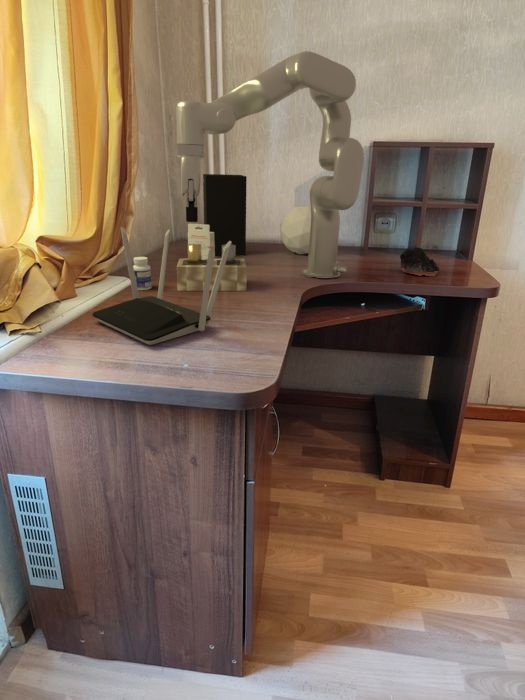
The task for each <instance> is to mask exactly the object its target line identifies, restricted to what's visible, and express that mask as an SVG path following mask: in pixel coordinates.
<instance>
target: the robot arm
mask: <svg viewBox="0 0 525 700" xmlns="http://www.w3.org/2000/svg"><path fill="white" fill-rule="evenodd" d="M356 88H357V81H356V76H355V73H353V71H352V70H351V69H349V68H348V67H346V66H345V65H343V64H341V63H339V62H336V61H334V60H332V59H330V58H328V57H325V56H323V55H322V54H321V55H320V54H318V53H316V52H313V51H309V50H308V51H307V50H306V51H301V52H299V53H296V54H293V55H290V56H288V57H286V58H285V59H283V60H281V61H280V62H278V63H276V64H275V65H273V66H271V67H268V69H266V70H264V71H262V72H261V73H259V74H257V75H255V76H254V77H251V78H250V79H248V80H246V81H245V82H243V83H242V84H240V85H239V86H237V87H235V88H234V89H232V90H230V91H229V92H227V93H225V94H223V95H221V96H220V97H218V98H217V99H215V100H212V101H210V102H200V101H197V100H179V101H178V102H177V104H176V108H175V109H176V110H175V113H176V114H175V115H176V120H175V121H176V156H177V158H180V195H181V196H182V197H184V196H185V195H186V199H185V200H186V206H185V221H186V222H187V223H197V222H198V219H199V216H198V215H199V213H198V207H197V206H198V199H197V198H198V197H199V195H200V190H201V172H202V171H201V168H202V167H201V161H202V160H203V159H206V134H207V135H222V134H227V133H228V132H230V131H231V130H233V128H234V127H235V124H236V122H237V121H239V120H241V119H243V118H245V117H248V116H251V115H254V114H259V113H260V112H263V111H265V110H267V109H269V108H271V107H272V106H275V105H276V104H278V103H279V102H281V101H283V100H284V99H286V98H287V97H290V96H291V95H293V94H294V93H296V92H298V91H300V90H303V89H308V90H309V95H310V97H311V99H312V101H313V102H314V103H315V104H316V106H317V107H318V109H319V111H320V114H321V116H322V130H321V138H320V145H319V150H318V151H319V152H318V163H319V166H320V167H321V169H323V170H325V171H328V172H333V175H322V176H320V177H318V178H316V179H315V180H314V181H313V182H312V184H311V186H310V190H309V203H310V205H309V206H310V207H311V226H310V240H309V254H308V255H307V257H308V258H307V268H305V269H303V270H302V275H303V274H304V275H303V276H305V275H306V276H305V277H307V276H310V277H309V278H311V277H334V276H338V275H339V274H340V275H341V274H345V275H346V274H348V267H347V266H340V262H339V261H338V249H339V248H338V247H339V237H340V228H341V217H340V216H341V215H340V211H346V210H349V209H351V208H352V207H353V206H354V205H355V203H356V201H357V200H358V196H359V192H360V187H361V181H362V175H363V174H362V173H363V169H364V164H365V152H364V148H363V146H362V144H361V142H360V141H359V140H357V139H356V138H353V137H350V135H351V126H352V114H351V110H350V108H349V105H348V103H347V101H348V100H349V99H351V97H352V96H353V95H354V94H355V91H356ZM201 159H202V160H201Z"/></svg>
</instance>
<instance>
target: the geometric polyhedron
mask: <svg viewBox="0 0 525 700" xmlns="http://www.w3.org/2000/svg"><path fill="white" fill-rule="evenodd" d="M310 226H311V205H309V206H307V205H306V206H295V207H293V209H291V210H290V211H289V212H287V213H286V215H284V217H283V219H282V221H281V222H280V224H279V231H280V233H279V234H280V235H279V236H280V240H281V241H282V243H283V244H284V246H285V247H286V249H287V250H288V251H291V252H292V253H294V252H296V253H309V240H310Z"/></svg>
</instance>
